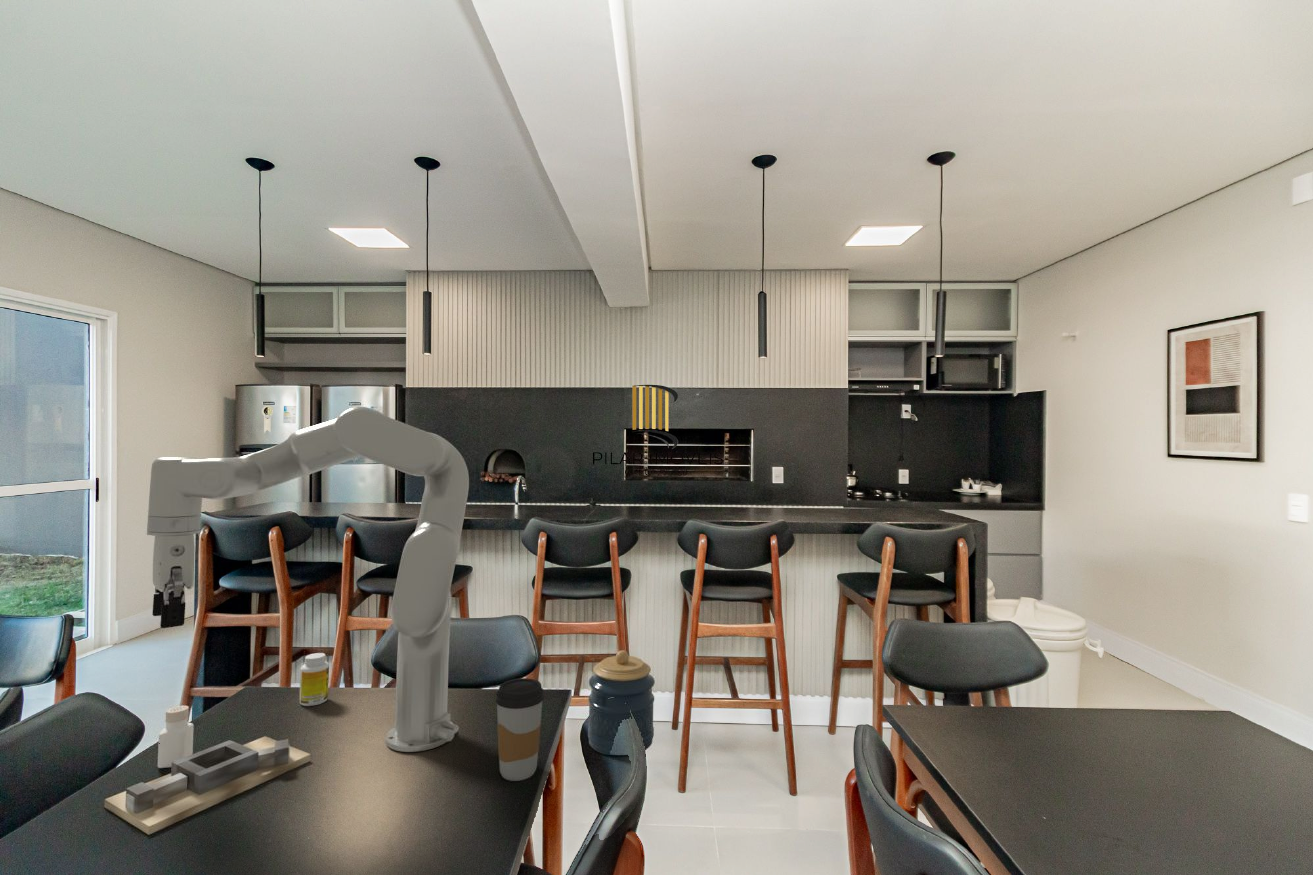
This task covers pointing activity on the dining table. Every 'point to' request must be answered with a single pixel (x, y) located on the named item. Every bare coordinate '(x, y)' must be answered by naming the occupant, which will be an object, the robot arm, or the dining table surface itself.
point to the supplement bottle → (314, 680)
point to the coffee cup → (519, 727)
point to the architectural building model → (204, 781)
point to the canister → (620, 700)
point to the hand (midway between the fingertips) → (167, 620)
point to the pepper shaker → (175, 737)
